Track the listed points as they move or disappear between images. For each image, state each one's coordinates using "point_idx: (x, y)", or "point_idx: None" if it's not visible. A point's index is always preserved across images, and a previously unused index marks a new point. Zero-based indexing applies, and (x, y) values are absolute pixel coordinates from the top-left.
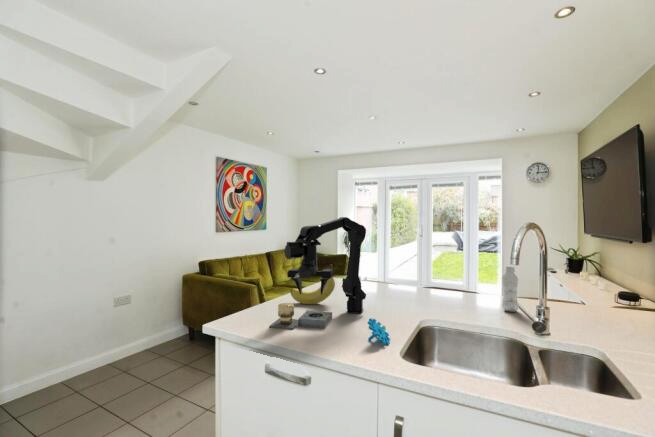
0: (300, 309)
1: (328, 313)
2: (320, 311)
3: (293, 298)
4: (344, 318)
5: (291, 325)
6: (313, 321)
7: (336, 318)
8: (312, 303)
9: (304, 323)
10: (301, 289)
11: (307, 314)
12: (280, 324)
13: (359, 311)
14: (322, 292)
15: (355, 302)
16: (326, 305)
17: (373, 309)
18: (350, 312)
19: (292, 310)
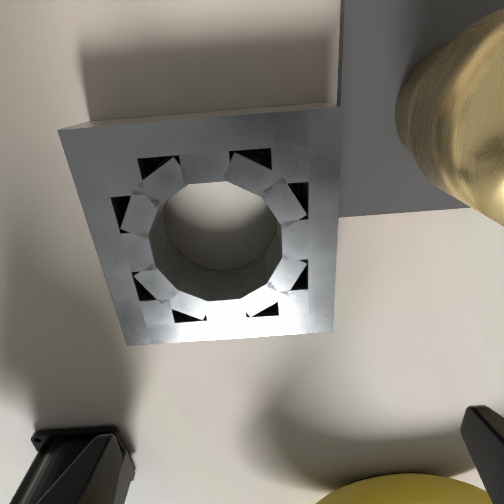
0: (412, 403)
1: (139, 315)
2: (221, 337)
3: None
4: (80, 348)
5: (384, 49)
6: (181, 117)
7: None
8: (364, 481)
9: (272, 107)
10: (501, 495)
11: (296, 243)
12: None
13: (49, 448)
14: (74, 473)
15: (35, 501)
16: (282, 483)
17: None
18: (94, 429)
19: (452, 96)
